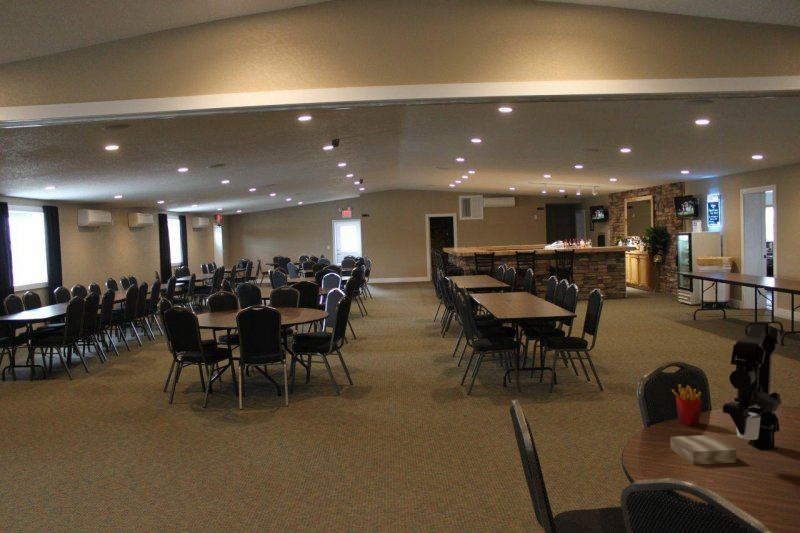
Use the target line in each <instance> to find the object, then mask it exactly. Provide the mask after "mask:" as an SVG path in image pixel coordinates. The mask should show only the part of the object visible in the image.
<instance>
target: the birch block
mask: <svg viewBox="0 0 800 533" xmlns="http://www.w3.org/2000/svg"><path fill="white" fill-rule="evenodd" d="M669 439H670V448H669V449H670V450H672V451H673V452H674V453H675V454H677V455H678V456H680V457H682V458H683V459H684V460H686V461H687V462H689V463H690V464H692V465H695V466H696V465H710V464H711V465H712V464H727V463H731V464H732V463H734V464H735V463H737V449H736V448H734V447H732V446H730V445H729V444H727V443H725V442H723V441H722V440H720V439H718V438H717V437H715V436H713V435H711V434H707V435H705V434H704V435H702V434H701V435H685V436H684V435H683V436H682V435H681V436H670V438H669Z"/></svg>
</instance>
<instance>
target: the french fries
mask: <svg viewBox="0 0 800 533" xmlns="http://www.w3.org/2000/svg"><path fill="white" fill-rule="evenodd" d="M671 392H672V393H673V394H674V395H675V403H676V412H677V420H678V424H681V425H683V426H686V427H694V426H695V427H696V425H697V426H699V425H700V417H701V412H702V411H701V410H702V404H703V403H702V402H703V400H702V399H701V398H700V397H701V396H702V392H701V391H698V393H696V392H697V389H696V388H694V389H692V387H690V385H686V388H685V387H682V384H678V392H679V394H680V395H679V394H678V393H677V392H676V391H675V389H672V390H671Z"/></svg>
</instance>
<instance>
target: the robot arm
mask: <svg viewBox="0 0 800 533" xmlns="http://www.w3.org/2000/svg"><path fill="white" fill-rule="evenodd" d="M750 324H751V325H750V327H749V331H748V332H747V334H746V336H745V337H742V338H739V339H738V340H737V341H736V342H735V344H733V348H732V352H731V360H730V365H732V366H733V365H735V370H733V371H731V373H730V375H729V379H728V380H729V382H730V384H731V385H732V386H733V387H734V389H737V390H736V394H737V396H736V397H734V398H733V399H734V400H733V401H729V402H727V403H725V404H723V405H722V413H724V414H727V415H729V416H730V418H731V420H732V421H733V423H734V425H735V427H737V428H736V430H737V429H738V431H739V433H740V434H741V435H744V433H745V428H746V421H747V418H749V417H750V416H751V415H750V414H748V413H749V412H753V413H756V414H759V415H760V416H761V418H760V427H759V436H758V439H755V440H749V441H747V444H748V445H750V446H752V447H754V448H756V449H757V450H760V451H761V450H778V449H779V447H778V446H776V445H775V434H776V433H777V432H780V431H781V430H780V427H781V426H780V419H779V418H778V415H777V413H776V411H777V410H778V407H779V406H780V405H782V399H781V395H780V393H778V392H776V391H774V392H772V393H771V382H772V380H771V379H772V363H773V362H772V360H773V359H772V358H773V355H774V354H775V353H776V352H777V350H778V348H779V345H780V343H781V333H780V331H779V329H777V328H776V327H774V326H772V325H771V323H770V322H767V321H766V322H765V321H752V322H751V323H750Z"/></svg>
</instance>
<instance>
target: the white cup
mask: <svg viewBox="0 0 800 533" xmlns="http://www.w3.org/2000/svg"><path fill="white" fill-rule="evenodd" d="M748 414H750V415H751V416H750V417H749V418H747V421H746V428H745V433H744V435H741V434H740V433H739V431H738V429H737V427H736V426H735V427H736V435H737V437H738V438H740V439H744V440H747V441H748V440H749V441H750V440H755V439H758V436H759V427H760V418H761V416H760V415H759V414H756V413H753V412H749V413H748Z"/></svg>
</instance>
